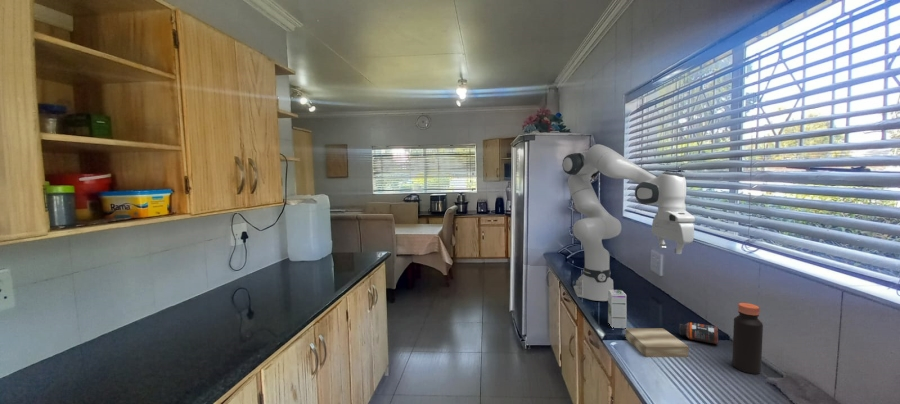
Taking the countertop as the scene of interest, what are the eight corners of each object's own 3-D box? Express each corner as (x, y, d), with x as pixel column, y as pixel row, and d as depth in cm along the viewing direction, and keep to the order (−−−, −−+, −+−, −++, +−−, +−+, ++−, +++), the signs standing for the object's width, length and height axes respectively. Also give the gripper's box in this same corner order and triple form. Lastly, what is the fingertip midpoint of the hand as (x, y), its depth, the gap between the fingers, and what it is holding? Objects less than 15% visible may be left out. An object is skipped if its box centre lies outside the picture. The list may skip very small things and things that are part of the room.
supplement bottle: (717, 325, 119) (679, 319, 126) (718, 343, 117) (679, 336, 124) (718, 327, 124) (680, 321, 131) (718, 344, 122) (680, 338, 129)
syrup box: (627, 330, 133) (627, 294, 132) (610, 329, 134) (611, 293, 133) (622, 324, 138) (623, 289, 138) (607, 323, 140) (607, 289, 139)
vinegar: (730, 360, 110) (732, 300, 109) (757, 366, 107) (760, 303, 106) (734, 370, 104) (736, 307, 103) (763, 376, 101) (766, 311, 100)
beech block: (625, 338, 127) (625, 328, 127) (662, 338, 127) (663, 328, 127) (646, 358, 113) (646, 346, 113) (688, 358, 113) (688, 346, 113)
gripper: (647, 212, 139) (646, 245, 140) (680, 218, 119) (678, 257, 120) (663, 212, 139) (662, 245, 140) (698, 218, 119) (696, 257, 120)
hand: (670, 251), depth 130 cm, fingers open, 8 cm apart
